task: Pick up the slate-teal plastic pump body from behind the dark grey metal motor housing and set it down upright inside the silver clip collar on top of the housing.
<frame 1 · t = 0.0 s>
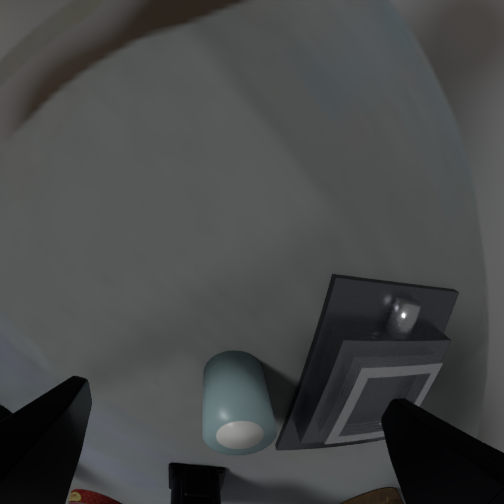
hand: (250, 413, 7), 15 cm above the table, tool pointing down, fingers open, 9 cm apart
motor housing: (366, 377, 26), on the table
supplement bottle: (5, 418, 24), on the table
canned food: (99, 502, 31), on the table
pump body: (233, 374, 24), on the table
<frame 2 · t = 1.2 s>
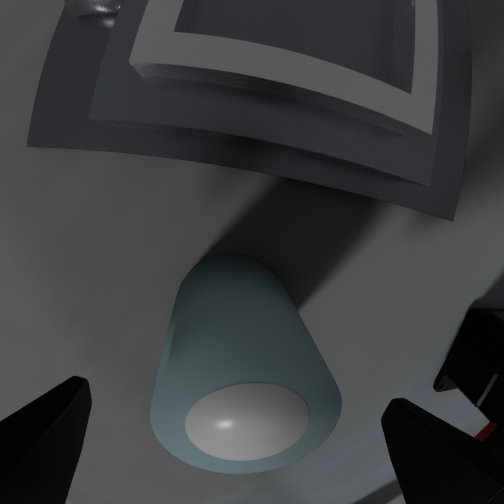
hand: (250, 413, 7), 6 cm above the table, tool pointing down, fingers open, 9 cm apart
motor housing: (287, 21, 10), on the table
pump body: (231, 307, 14), on the table
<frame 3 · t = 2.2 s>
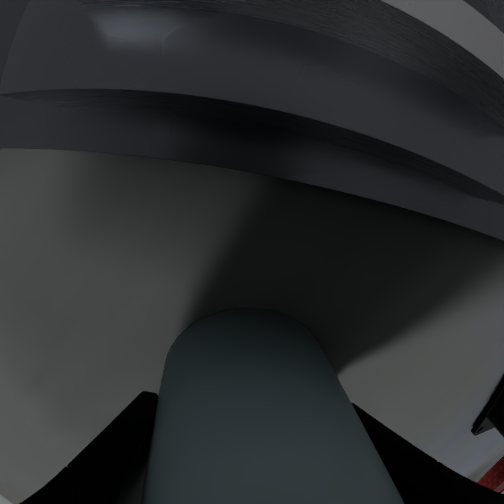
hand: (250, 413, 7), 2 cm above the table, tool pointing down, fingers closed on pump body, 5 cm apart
canned food: (503, 461, 19), on the table
pump body: (245, 378, 9), on the table, touching gripper
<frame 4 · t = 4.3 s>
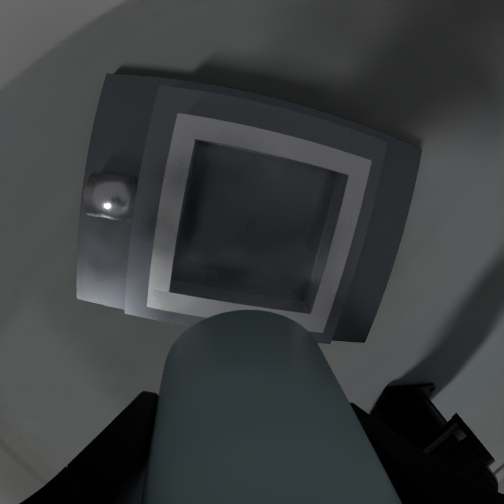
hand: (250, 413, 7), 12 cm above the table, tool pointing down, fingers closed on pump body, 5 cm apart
motor housing: (248, 216, 18), on the table
pump body: (244, 379, 9), point 10 cm above the table, touching gripper
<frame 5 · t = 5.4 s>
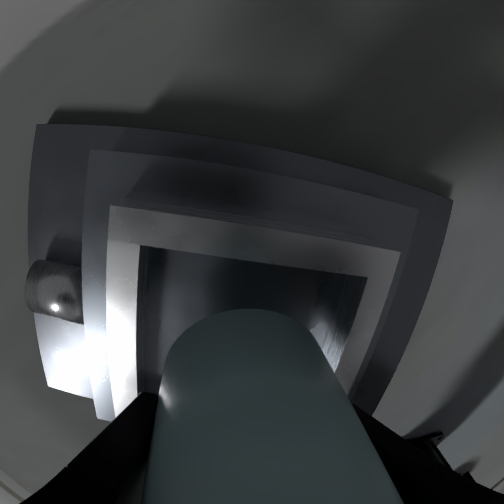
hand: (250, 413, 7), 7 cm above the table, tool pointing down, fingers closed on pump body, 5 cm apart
motor housing: (233, 303, 14), on the table
pump body: (245, 379, 9), point 5 cm above the table, touching gripper
when the fingers open (6 cm above the table, at t = 6.2 s): pump body drops 2 cm, resting on motor housing.
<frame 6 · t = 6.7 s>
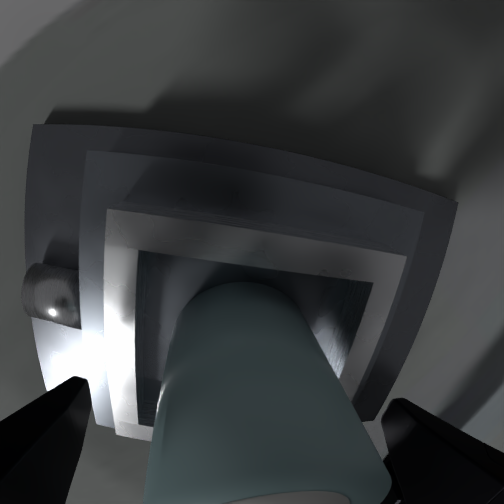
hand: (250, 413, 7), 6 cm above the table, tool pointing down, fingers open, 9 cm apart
motor housing: (234, 307, 14), on the table
pump body: (240, 345, 11), point 3 cm above the table, touching motor housing
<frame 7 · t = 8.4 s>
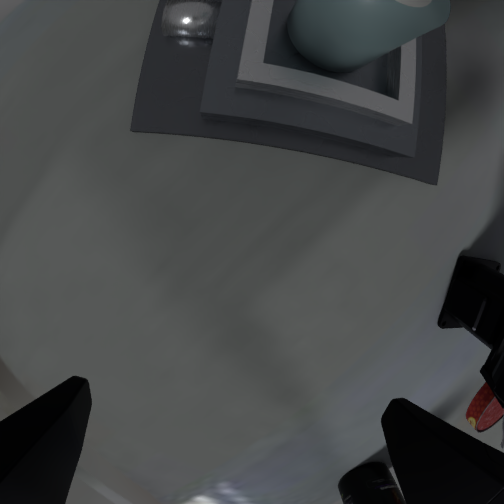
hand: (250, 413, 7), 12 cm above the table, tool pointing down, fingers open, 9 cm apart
motor housing: (315, 48, 16), on the table
supplement bottle: (361, 474, 29), on the table
canned food: (489, 392, 29), on the table
pump body: (332, 32, 13), point 3 cm above the table, touching motor housing
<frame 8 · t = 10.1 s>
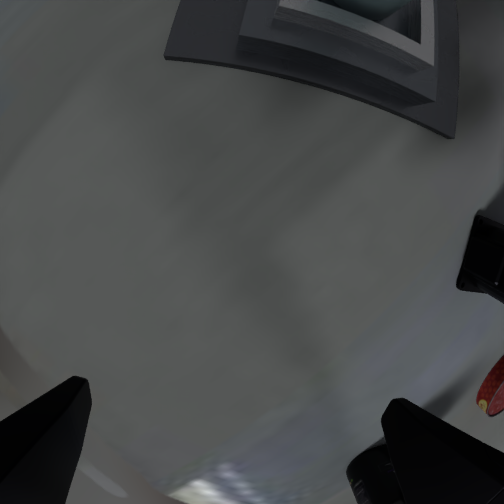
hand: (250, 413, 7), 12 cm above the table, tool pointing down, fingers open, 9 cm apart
motor housing: (341, 5, 15), on the table
supplement bottle: (370, 459, 28), on the table
canned food: (499, 375, 28), on the table
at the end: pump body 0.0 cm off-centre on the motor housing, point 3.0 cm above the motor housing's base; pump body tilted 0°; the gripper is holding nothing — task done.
